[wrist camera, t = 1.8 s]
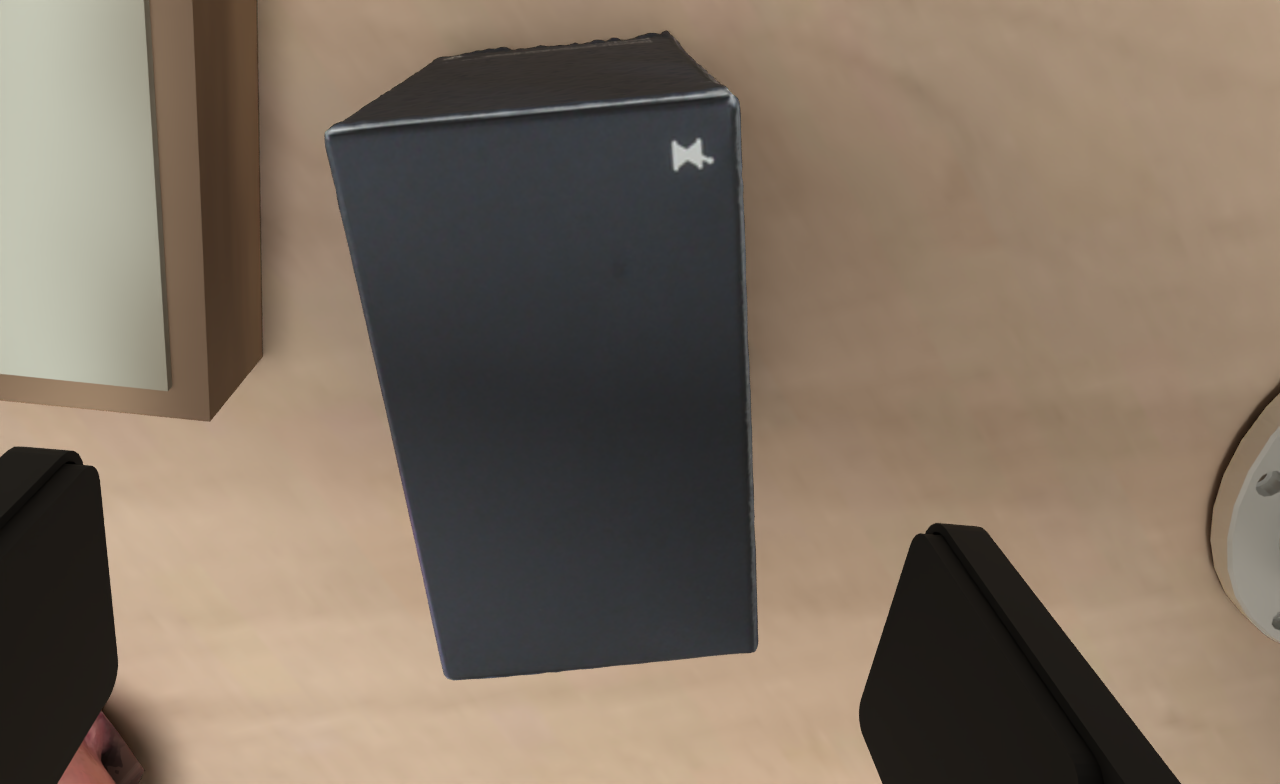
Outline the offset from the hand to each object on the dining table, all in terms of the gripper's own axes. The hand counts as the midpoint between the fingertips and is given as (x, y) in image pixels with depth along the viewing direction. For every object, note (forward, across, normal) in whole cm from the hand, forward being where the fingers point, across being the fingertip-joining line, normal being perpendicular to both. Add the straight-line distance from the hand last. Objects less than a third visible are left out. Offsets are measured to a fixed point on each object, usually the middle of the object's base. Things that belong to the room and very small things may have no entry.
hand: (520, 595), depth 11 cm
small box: (+15, -1, 0) cm, 15 cm away
